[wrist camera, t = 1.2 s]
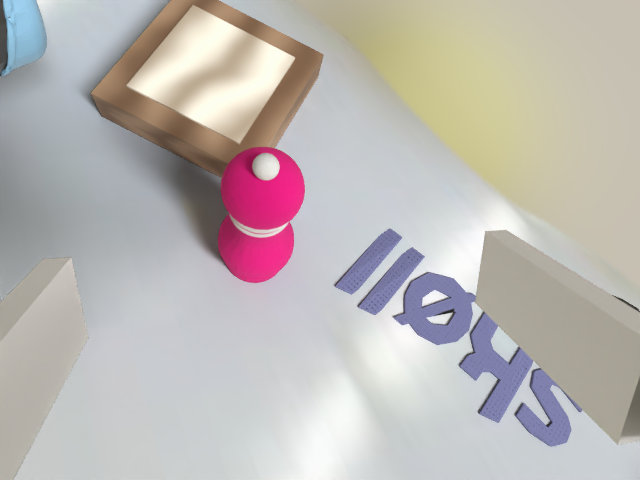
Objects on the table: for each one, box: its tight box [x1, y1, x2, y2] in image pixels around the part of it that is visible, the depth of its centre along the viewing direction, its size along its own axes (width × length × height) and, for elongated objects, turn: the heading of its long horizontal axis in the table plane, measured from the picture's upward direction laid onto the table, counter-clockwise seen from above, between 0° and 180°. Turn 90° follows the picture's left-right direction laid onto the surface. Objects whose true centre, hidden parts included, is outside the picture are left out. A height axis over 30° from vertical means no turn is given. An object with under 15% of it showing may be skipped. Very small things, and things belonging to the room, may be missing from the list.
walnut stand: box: [91, 0, 323, 178], centre depth 51 cm, size 18×18×4 cm
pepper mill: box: [218, 147, 305, 283], centre depth 38 cm, size 7×7×20 cm
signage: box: [335, 229, 582, 446], centre depth 48 cm, size 28×1×10 cm
